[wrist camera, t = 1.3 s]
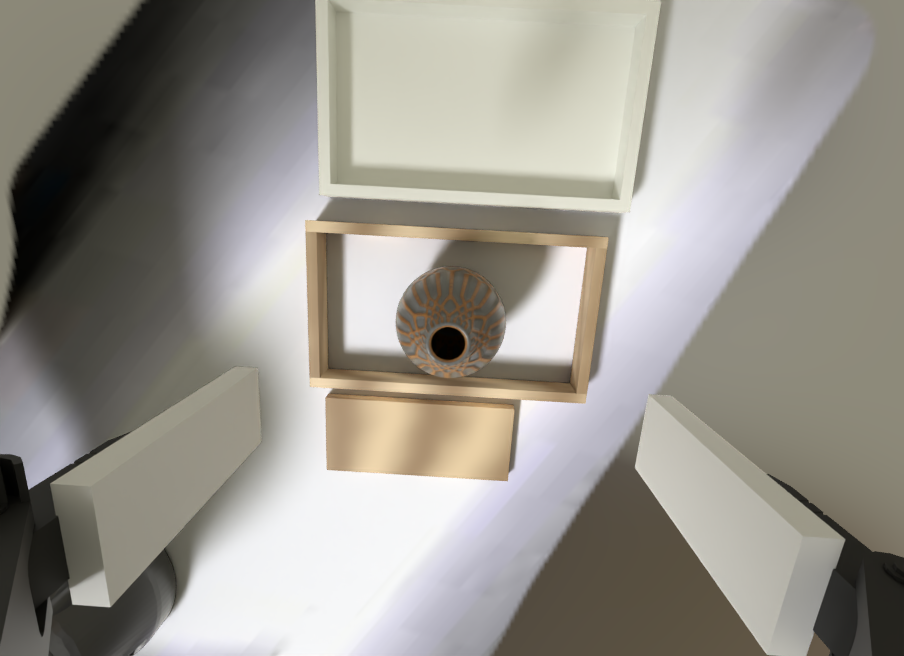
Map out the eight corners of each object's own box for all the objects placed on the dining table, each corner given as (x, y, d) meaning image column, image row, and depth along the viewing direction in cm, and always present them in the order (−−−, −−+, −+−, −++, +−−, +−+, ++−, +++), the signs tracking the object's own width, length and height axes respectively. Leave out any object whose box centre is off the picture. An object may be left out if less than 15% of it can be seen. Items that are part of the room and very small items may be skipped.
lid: (329, 464, 34) (326, 469, 33) (328, 393, 32) (325, 397, 31) (506, 475, 34) (507, 481, 33) (513, 404, 32) (514, 409, 31)
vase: (502, 262, 30) (518, 278, 21) (498, 356, 31) (512, 407, 23) (403, 260, 30) (379, 276, 21) (405, 355, 31) (383, 404, 23)
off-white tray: (329, 196, 29) (319, 194, 27) (327, 2, 26) (315, -17, 24) (617, 212, 29) (629, 212, 26) (645, 18, 26) (661, 0, 24)
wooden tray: (319, 376, 32) (309, 386, 30) (315, 220, 29) (305, 220, 27) (577, 392, 32) (585, 403, 30) (599, 236, 29) (608, 237, 27)
